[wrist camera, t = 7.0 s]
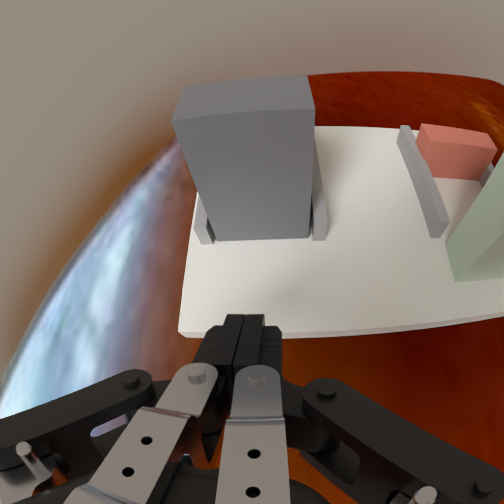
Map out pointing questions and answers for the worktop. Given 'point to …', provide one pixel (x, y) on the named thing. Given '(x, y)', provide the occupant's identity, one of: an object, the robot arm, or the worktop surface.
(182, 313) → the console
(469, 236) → the pale green tall block
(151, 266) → the worktop surface
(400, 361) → the worktop surface
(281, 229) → the grey upright block
